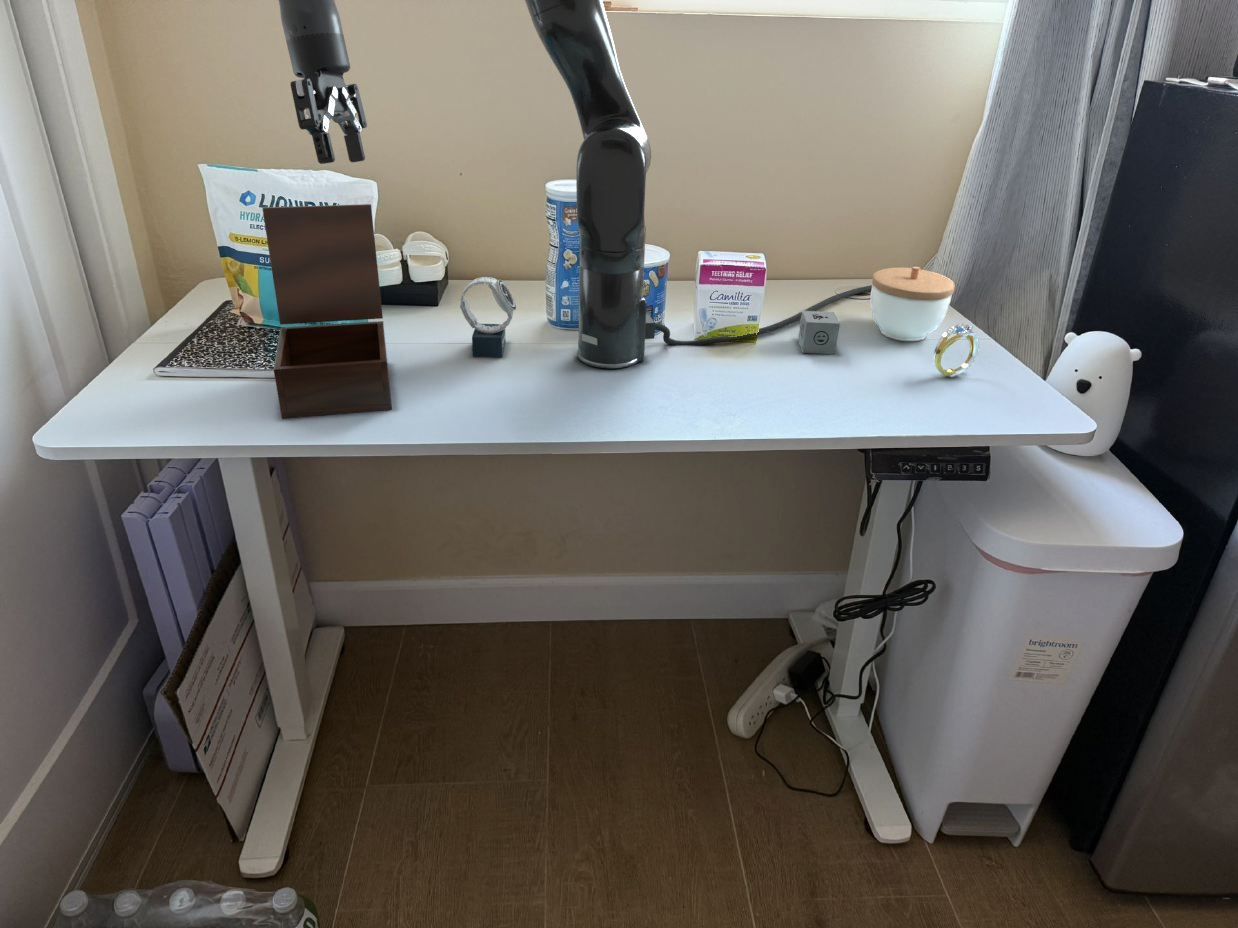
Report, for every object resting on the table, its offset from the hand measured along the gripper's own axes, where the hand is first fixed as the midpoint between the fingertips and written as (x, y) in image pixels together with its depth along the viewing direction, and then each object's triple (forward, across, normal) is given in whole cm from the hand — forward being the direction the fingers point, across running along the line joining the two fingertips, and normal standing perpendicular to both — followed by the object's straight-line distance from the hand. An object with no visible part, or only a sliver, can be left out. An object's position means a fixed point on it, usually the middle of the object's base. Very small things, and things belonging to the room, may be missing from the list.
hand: (343, 162), depth 125 cm
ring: (+42, +16, -81) cm, 93 cm away
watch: (+29, +5, -14) cm, 33 cm away
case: (+29, -14, 0) cm, 32 cm away
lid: (+13, -10, +1) cm, 16 cm away
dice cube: (+37, +21, -62) cm, 75 cm away
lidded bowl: (+38, +31, -76) cm, 90 cm away
